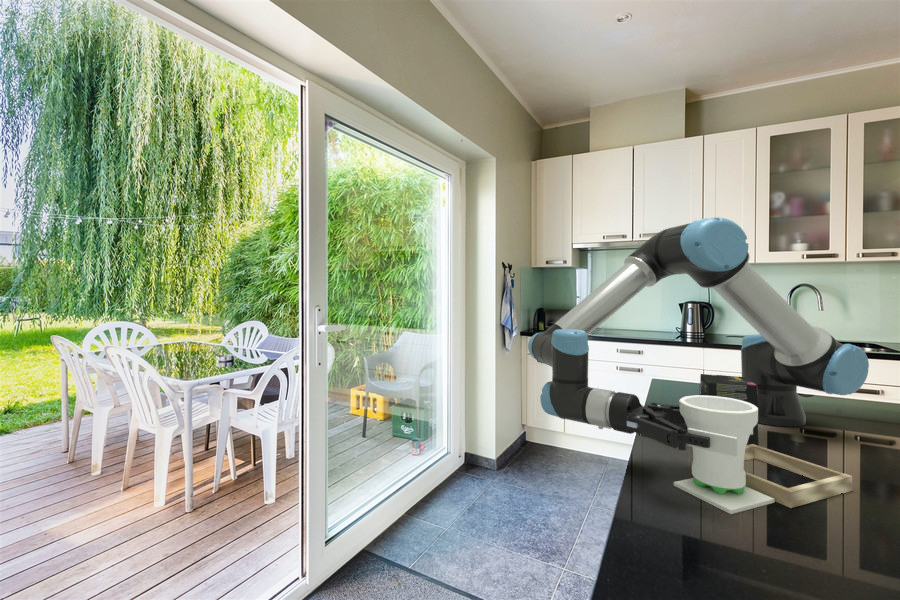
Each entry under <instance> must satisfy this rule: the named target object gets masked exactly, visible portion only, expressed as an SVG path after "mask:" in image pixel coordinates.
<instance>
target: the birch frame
mask: <svg viewBox="0 0 900 600" xmlns="http://www.w3.org/2000/svg"><path fill="white" fill-rule="evenodd" d="M748 460H758V461H760V462H764V463H767V464H769V465H771V466H774V467H778V468H780V469H783V470H787V471H789V472H792V473H794V474H797V475H800V476H802V475H803V477H805V478H809V479H812V480H814V481H811V482H807V483H803V484H798V485H796V486H791V487H786V486H783V485H780V484H778V483H775V482H773V481H770V480H768V479H765V478H762V477H760V476H757V475H755V474H753V473H750V472H747V471H745V474H746V485H745V486H746V487H748V488H750V489H753V490H755V491H757V492H760V493H762V494H764V495H767V496H769V497H771V498H774V499H775V502H776V503H778V504H780V505H782V506H785V507H787V508H789V509H792V508H795V507H800V506H803V505H808V504H810V503H814V502H817V501H820V500H824V499H828V498H831V497H836V496H839V495H842V494H841V493H843V494H845V493H846V494H847V493H849V492H853V476H852V475H849V474H847V473H843V472H841V471H837V470H834V469H831V468H828V467H825V466H822V465H818V464H816V463H813V462H810V461H807V460H803V459H801V458H797V457H795V456H791V455H788V454H784V453H781V452H778V451H775V450H773V449H769V448H766V447H763V446H760V445H759V446H757V445H754V444H750V445H746V448H745V455H744V462H745V461H748Z"/></svg>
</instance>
